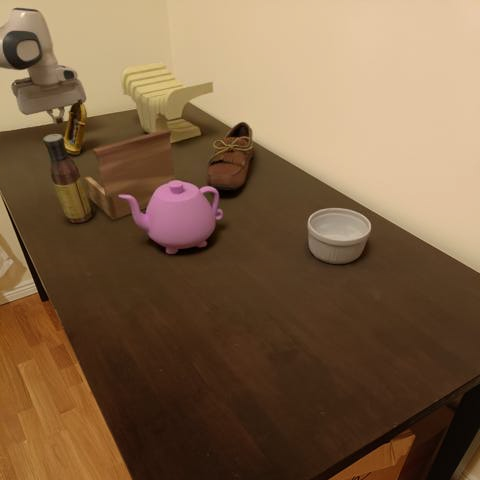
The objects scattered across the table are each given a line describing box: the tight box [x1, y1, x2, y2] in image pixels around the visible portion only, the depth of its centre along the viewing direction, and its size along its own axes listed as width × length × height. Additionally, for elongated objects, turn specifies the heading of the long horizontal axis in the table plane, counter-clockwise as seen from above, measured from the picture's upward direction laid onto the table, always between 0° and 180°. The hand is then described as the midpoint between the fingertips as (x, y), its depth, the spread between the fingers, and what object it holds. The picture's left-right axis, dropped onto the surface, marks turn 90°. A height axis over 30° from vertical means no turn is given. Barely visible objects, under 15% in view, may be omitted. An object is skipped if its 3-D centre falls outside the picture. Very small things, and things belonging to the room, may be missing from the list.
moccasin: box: [205, 121, 255, 191], centre depth 117 cm, size 31×12×12 cm, turn 158°
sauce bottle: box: [43, 133, 93, 224], centre depth 98 cm, size 6×6×20 cm
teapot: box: [118, 179, 224, 255], centre depth 93 cm, size 22×16×14 cm
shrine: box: [63, 99, 88, 156], centre depth 129 cm, size 12×8×15 cm
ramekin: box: [306, 207, 372, 265], centre depth 92 cm, size 13×13×7 cm
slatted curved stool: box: [120, 61, 214, 144], centre depth 138 cm, size 30×16×18 cm, turn 37°
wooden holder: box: [84, 129, 176, 221], centre depth 106 cm, size 14×19×17 cm
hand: (59, 123), depth 136 cm, fingers closed
